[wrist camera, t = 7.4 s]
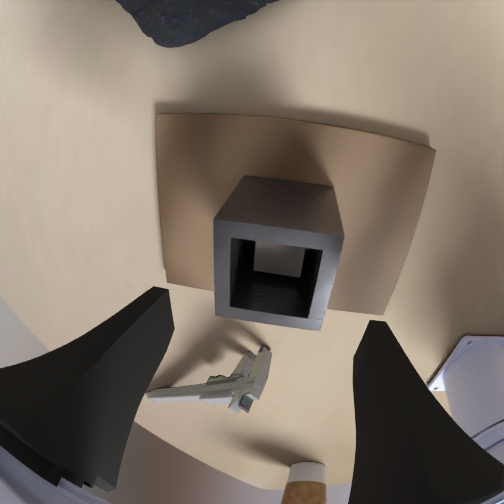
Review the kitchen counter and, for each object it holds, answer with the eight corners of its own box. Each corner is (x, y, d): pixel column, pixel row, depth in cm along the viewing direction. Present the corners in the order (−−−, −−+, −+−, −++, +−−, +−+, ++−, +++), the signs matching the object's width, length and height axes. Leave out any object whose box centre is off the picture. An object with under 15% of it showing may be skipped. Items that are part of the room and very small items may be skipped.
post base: (426, 145, 15) (463, 166, 10) (379, 302, 21) (390, 351, 17) (166, 112, 17) (123, 123, 12) (174, 271, 23) (147, 313, 19)
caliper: (265, 340, 24) (252, 402, 19) (273, 347, 25) (262, 409, 19) (146, 391, 34) (127, 429, 28) (152, 395, 34) (135, 434, 29)
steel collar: (333, 186, 16) (344, 236, 11) (319, 262, 18) (320, 331, 13) (244, 175, 16) (213, 219, 11) (240, 251, 19) (215, 315, 14)
